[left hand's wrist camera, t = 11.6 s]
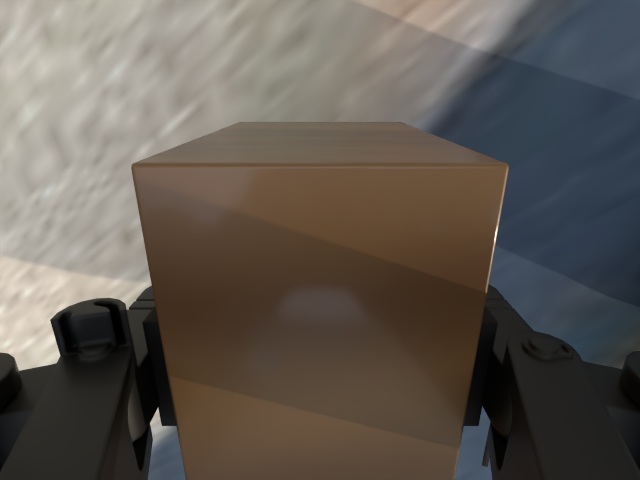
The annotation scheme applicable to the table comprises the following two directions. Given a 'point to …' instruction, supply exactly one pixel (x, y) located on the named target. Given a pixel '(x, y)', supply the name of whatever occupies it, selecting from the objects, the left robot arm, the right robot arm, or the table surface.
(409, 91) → the table surface
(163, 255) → the beam
